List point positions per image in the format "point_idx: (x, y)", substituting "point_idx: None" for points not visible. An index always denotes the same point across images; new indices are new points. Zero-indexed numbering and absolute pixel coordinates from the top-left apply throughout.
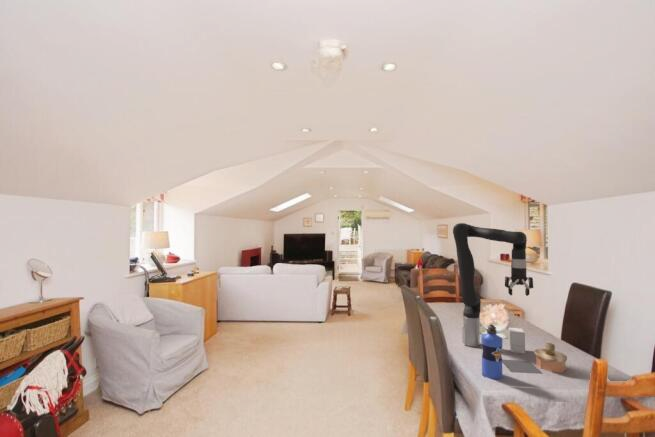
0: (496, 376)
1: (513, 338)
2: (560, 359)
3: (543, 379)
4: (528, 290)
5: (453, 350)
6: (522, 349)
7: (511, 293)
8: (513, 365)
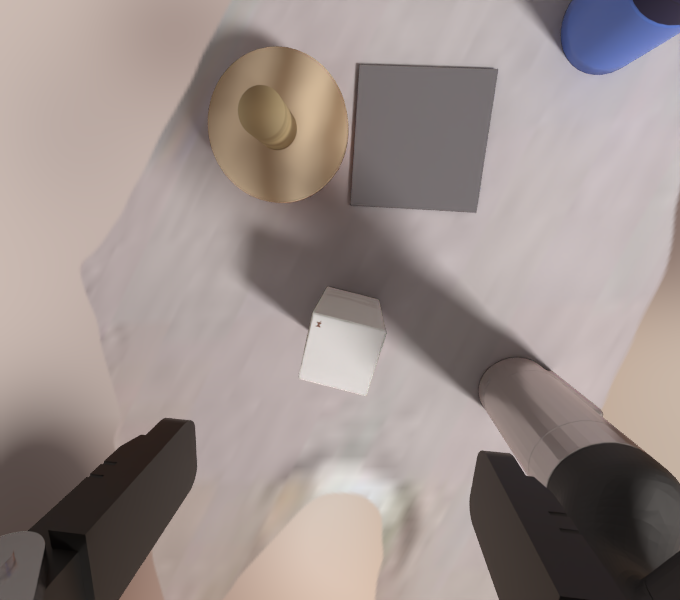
0: None
1: (372, 314)
2: (261, 52)
3: (384, 13)
4: (73, 512)
5: (640, 313)
6: (335, 292)
7: (515, 475)
8: (447, 146)
